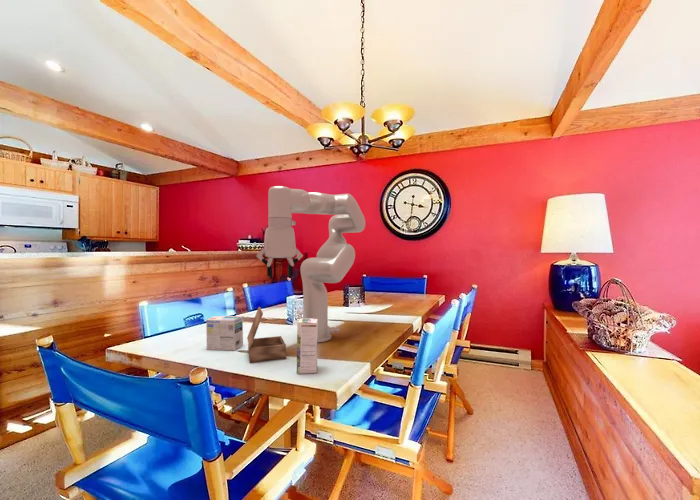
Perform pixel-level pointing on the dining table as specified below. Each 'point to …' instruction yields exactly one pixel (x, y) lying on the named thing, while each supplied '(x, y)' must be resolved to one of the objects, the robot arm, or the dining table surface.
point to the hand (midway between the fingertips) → (280, 277)
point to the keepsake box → (267, 349)
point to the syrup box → (307, 345)
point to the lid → (254, 326)
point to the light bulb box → (224, 332)
